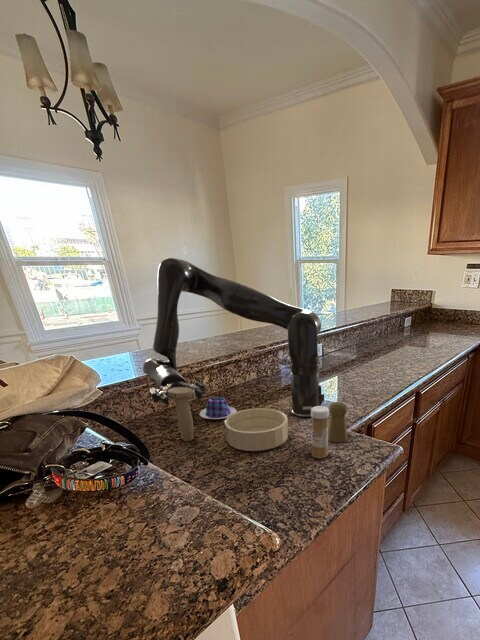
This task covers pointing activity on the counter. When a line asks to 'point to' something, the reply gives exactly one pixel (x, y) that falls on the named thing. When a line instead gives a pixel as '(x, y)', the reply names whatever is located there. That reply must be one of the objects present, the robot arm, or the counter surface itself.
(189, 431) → the handle
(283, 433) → the bowl
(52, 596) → the counter surface
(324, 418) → the sprinkles bottle
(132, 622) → the counter surface
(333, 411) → the green pepper mill
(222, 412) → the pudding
